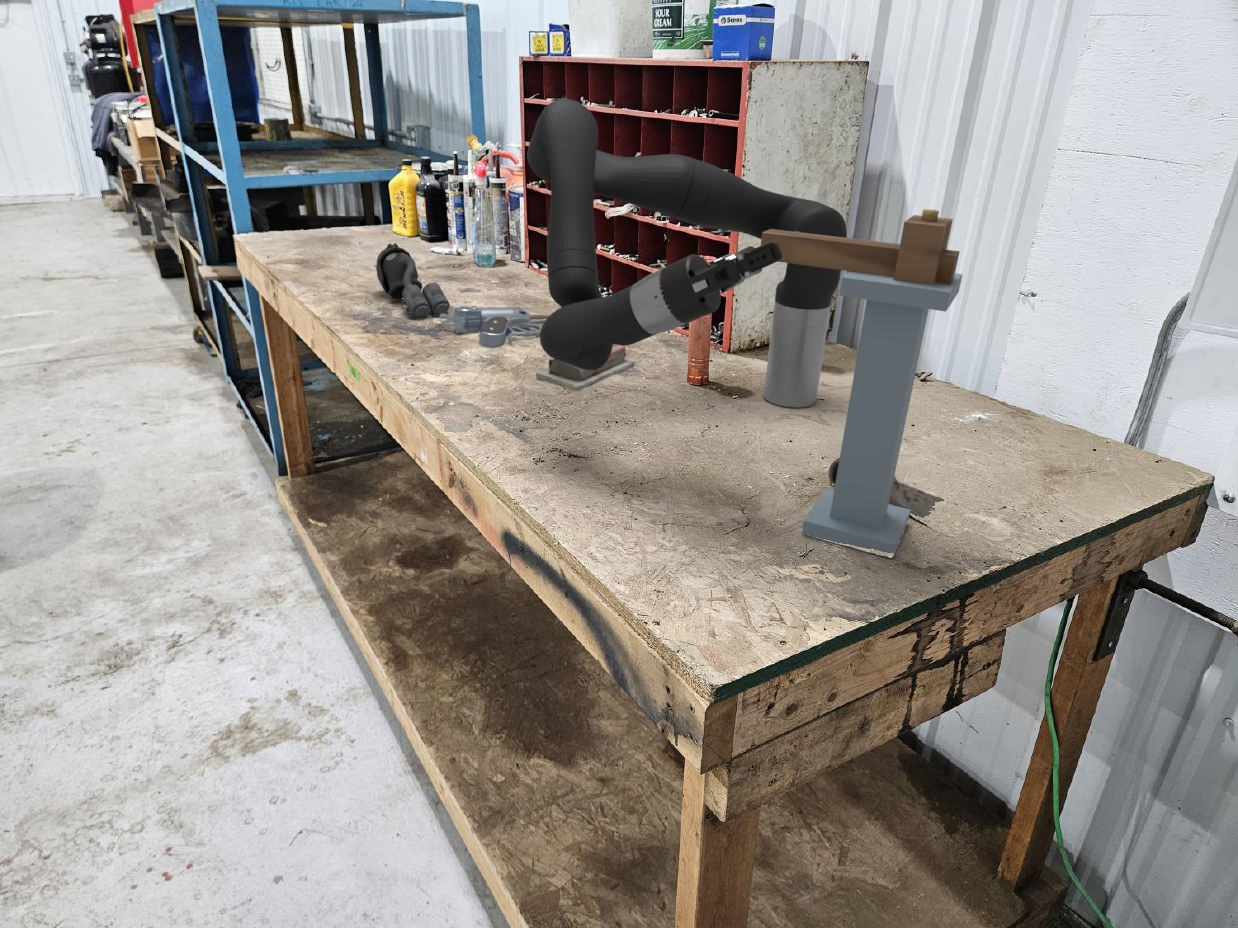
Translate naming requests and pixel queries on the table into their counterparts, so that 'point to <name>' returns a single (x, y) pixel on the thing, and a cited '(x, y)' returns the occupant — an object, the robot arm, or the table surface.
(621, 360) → the packaged product
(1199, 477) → the table surface
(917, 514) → the axe head
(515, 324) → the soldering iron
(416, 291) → the gas mask
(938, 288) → the stand
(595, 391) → the table surface
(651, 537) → the table surface
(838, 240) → the marking gauge
